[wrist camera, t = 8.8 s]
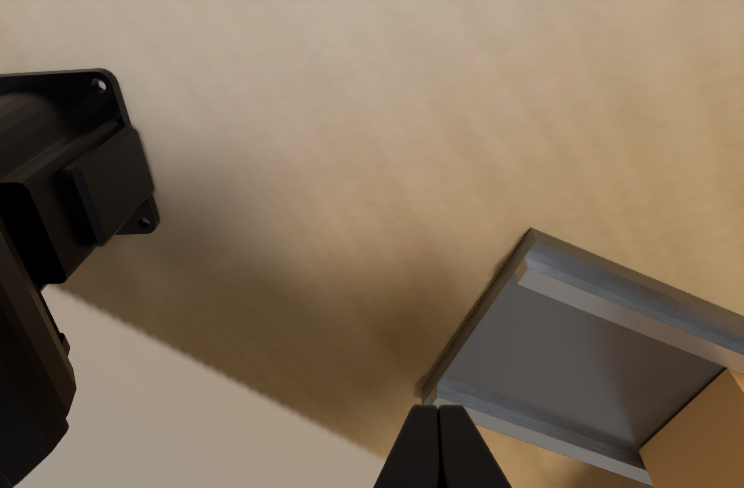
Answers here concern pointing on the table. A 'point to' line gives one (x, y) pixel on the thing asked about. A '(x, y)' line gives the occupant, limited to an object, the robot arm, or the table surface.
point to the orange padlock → (702, 440)
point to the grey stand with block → (584, 355)
